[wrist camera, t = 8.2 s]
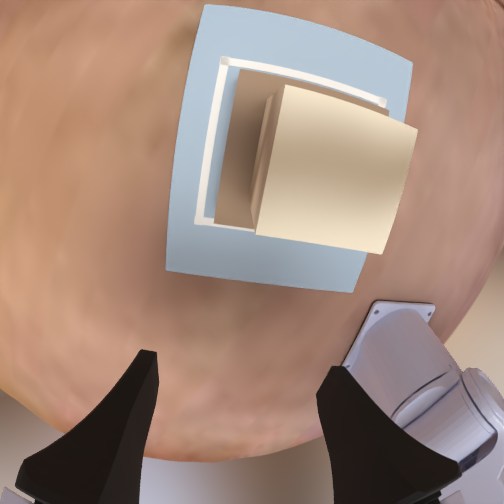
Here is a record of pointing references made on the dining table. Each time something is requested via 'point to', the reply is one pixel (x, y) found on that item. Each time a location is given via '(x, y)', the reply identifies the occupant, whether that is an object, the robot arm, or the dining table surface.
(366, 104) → the walnut base block
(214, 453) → the dining table surface
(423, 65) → the dining table surface
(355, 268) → the blueprint board
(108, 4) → the dining table surface
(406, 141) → the maple cube
